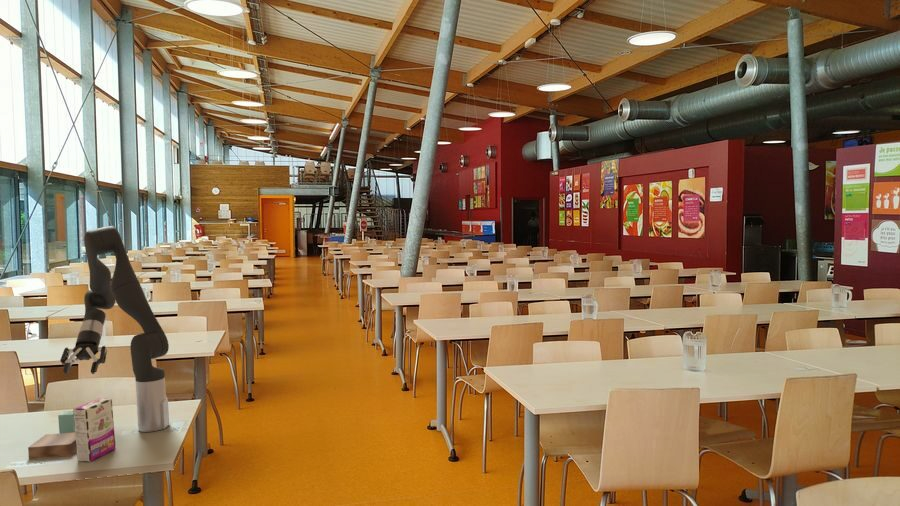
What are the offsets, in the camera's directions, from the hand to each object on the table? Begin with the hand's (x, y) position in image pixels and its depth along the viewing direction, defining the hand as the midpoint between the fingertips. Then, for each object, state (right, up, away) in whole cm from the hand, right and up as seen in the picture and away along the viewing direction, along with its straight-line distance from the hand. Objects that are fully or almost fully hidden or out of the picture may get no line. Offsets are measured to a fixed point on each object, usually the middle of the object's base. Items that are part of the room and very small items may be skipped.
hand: (79, 373), depth 233 cm
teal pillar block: (+3, -19, -10) cm, 22 cm away
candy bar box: (+22, -20, -29) cm, 42 cm away
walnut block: (+7, -20, -24) cm, 32 cm away
